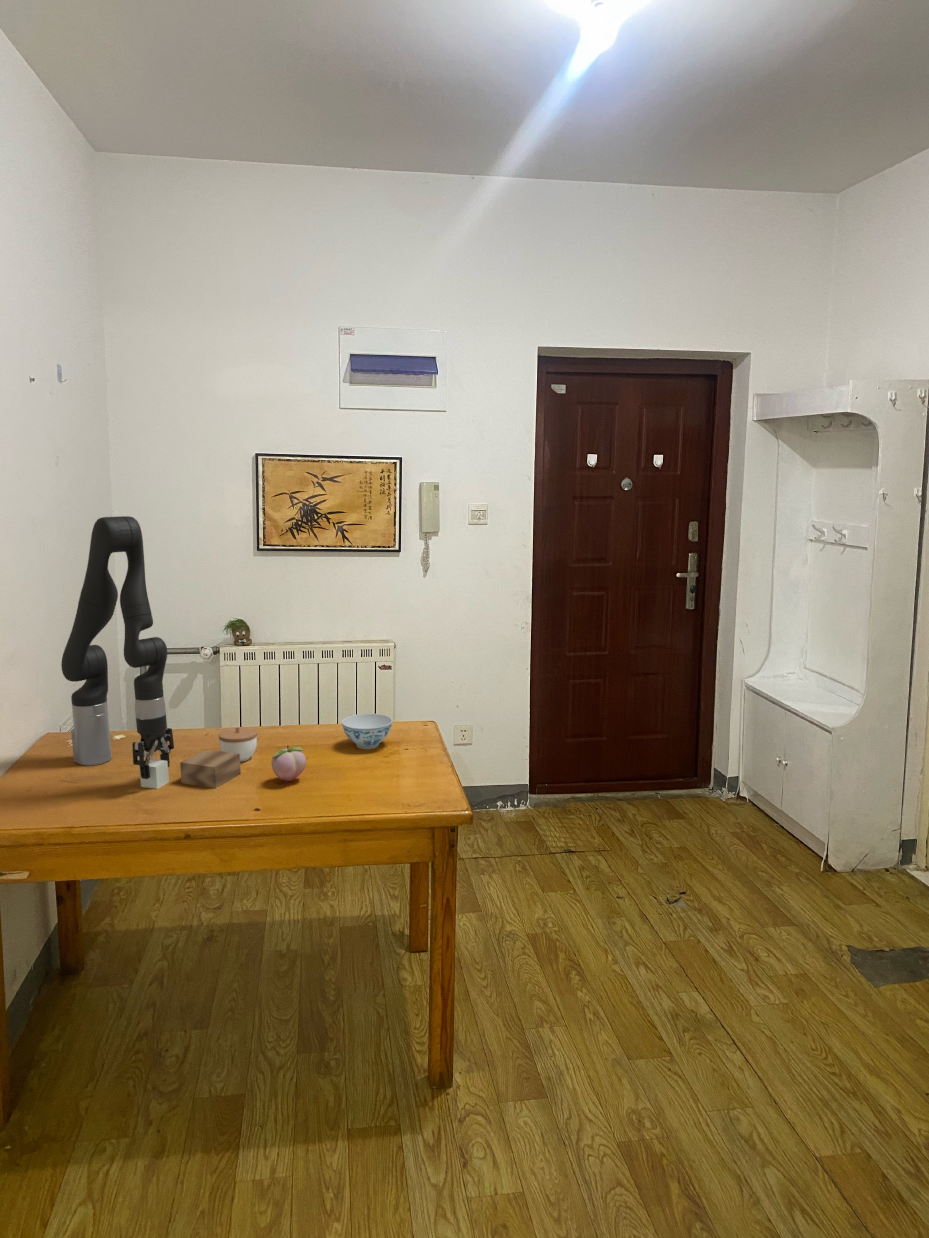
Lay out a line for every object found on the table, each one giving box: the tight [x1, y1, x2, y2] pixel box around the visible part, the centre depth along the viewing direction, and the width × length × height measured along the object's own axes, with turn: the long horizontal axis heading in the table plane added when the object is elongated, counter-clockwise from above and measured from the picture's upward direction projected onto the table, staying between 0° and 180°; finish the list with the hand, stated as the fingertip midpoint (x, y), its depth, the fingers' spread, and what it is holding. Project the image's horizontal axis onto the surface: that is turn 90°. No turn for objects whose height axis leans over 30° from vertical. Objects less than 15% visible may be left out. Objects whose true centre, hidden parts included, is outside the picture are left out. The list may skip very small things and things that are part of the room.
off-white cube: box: [139, 758, 170, 790], centre depth 236 cm, size 5×5×6 cm
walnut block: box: [179, 749, 241, 789], centre depth 240 cm, size 11×11×6 cm
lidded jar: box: [218, 726, 258, 763], centre depth 255 cm, size 11×11×9 cm
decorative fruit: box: [271, 745, 307, 782], centre depth 238 cm, size 9×8×10 cm
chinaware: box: [341, 713, 393, 750], centre depth 266 cm, size 15×15×8 cm
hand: (155, 772), depth 236 cm, fingers open, 8 cm apart
